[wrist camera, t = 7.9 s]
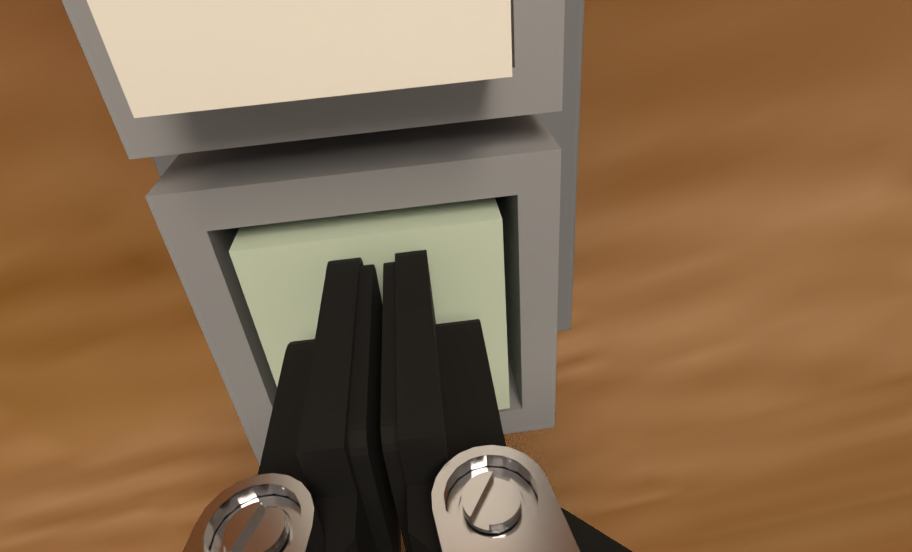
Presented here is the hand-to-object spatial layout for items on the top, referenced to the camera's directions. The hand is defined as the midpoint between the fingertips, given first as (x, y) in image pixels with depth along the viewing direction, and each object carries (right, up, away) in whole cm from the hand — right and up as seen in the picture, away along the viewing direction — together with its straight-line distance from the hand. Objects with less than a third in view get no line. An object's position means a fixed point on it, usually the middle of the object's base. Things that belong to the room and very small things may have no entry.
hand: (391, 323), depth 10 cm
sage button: (0, +1, +3) cm, 3 cm away
